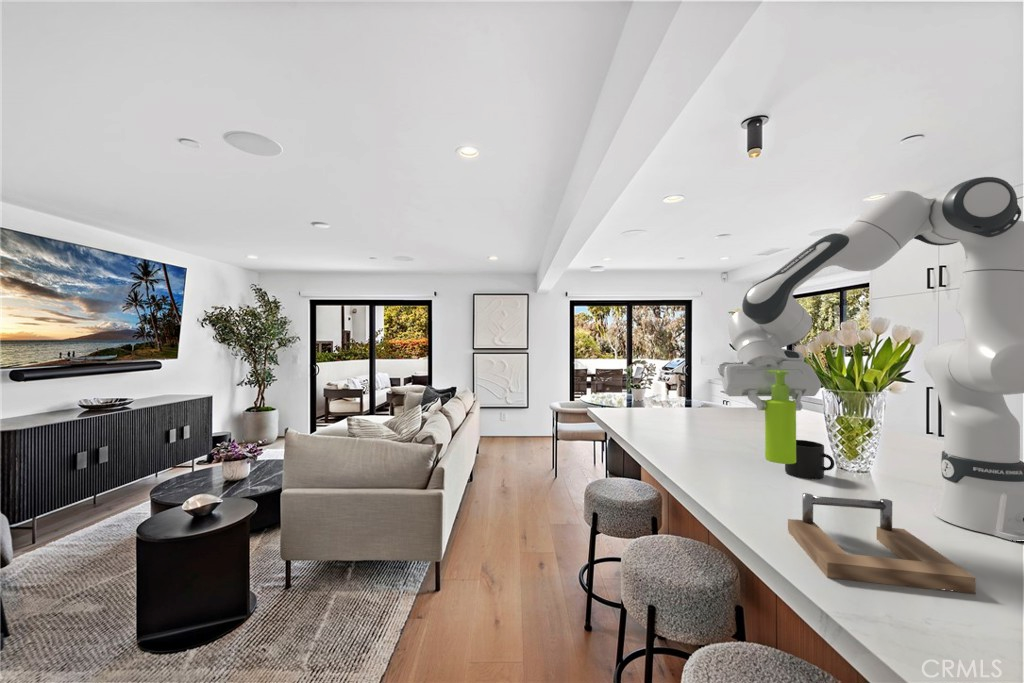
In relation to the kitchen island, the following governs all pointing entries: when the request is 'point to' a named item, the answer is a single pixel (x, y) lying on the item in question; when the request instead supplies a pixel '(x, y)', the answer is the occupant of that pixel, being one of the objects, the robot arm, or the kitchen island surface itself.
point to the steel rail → (882, 505)
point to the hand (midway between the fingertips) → (780, 409)
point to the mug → (809, 461)
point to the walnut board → (884, 560)
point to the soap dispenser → (780, 423)
